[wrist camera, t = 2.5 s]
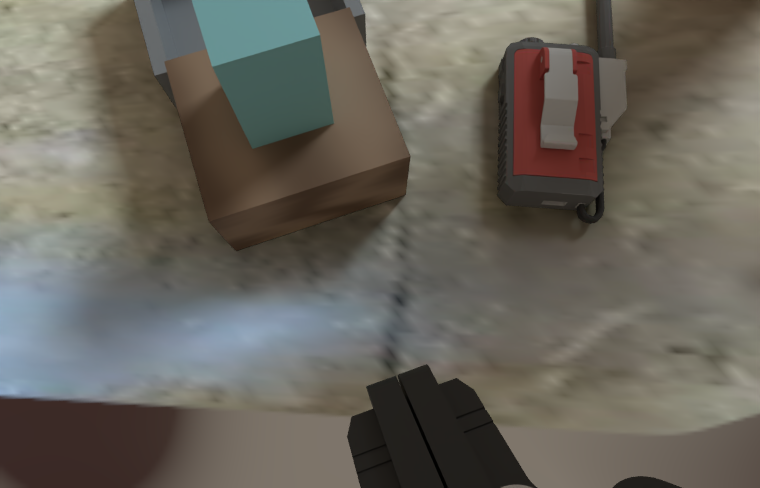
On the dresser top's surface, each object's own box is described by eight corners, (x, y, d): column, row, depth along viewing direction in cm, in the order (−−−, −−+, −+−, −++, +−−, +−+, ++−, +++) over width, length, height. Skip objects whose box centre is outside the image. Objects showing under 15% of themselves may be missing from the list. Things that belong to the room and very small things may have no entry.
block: (308, 54, 34) (287, -50, 26) (334, 123, 32) (320, 34, 25) (229, 78, 33) (185, -21, 25) (252, 148, 32) (212, 66, 24)
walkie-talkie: (621, 232, 37) (609, -10, 43) (653, 209, 33) (635, -56, 39) (492, 222, 37) (497, -18, 43) (507, 198, 33) (510, -64, 39)
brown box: (353, 64, 40) (349, 6, 35) (405, 194, 37) (410, 156, 32) (195, 112, 39) (164, 61, 33) (235, 251, 36) (208, 221, 30)
